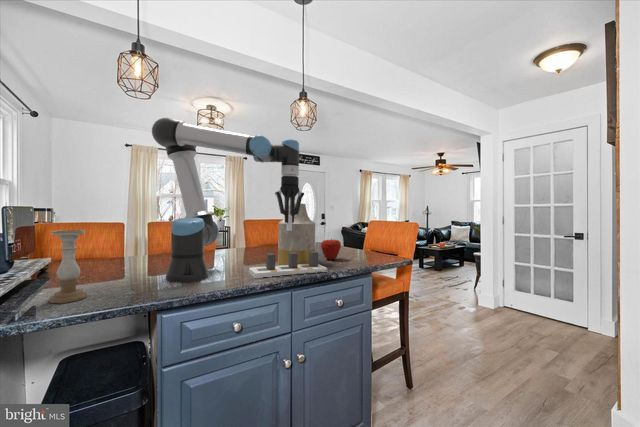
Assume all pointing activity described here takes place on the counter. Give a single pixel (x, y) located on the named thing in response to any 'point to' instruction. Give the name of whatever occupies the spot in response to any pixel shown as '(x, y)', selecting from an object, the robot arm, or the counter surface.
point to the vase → (296, 237)
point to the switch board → (284, 270)
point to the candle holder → (68, 269)
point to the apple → (330, 248)
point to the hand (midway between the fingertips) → (289, 230)
